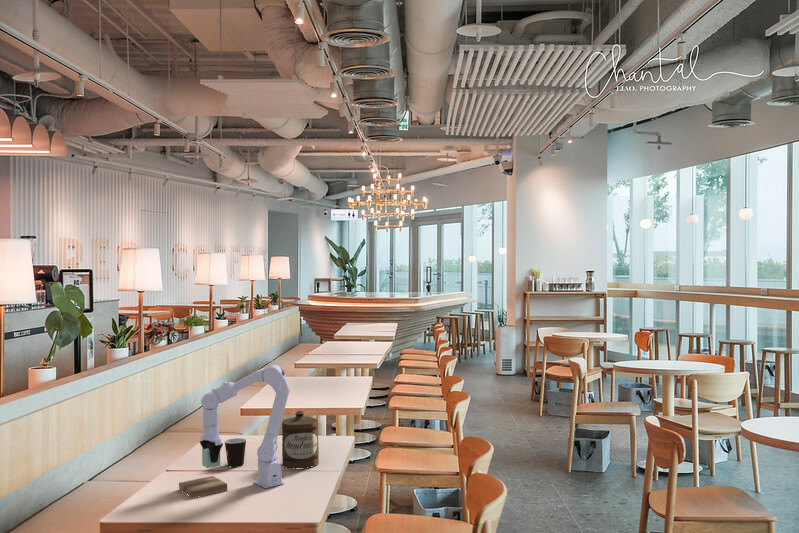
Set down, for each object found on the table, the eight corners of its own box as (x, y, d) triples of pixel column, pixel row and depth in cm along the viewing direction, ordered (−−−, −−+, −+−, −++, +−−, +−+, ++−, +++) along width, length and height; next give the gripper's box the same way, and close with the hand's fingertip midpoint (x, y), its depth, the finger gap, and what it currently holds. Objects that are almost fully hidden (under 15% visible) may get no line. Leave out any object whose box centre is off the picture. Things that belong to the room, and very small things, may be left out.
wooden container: (284, 471, 269) (283, 415, 270) (280, 461, 284) (280, 408, 284) (321, 467, 273) (320, 413, 274) (315, 458, 288) (315, 406, 288)
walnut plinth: (227, 490, 246) (227, 483, 246) (192, 498, 238) (192, 491, 238) (213, 482, 256) (213, 475, 256) (179, 489, 248) (179, 482, 248)
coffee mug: (243, 467, 275) (243, 443, 275) (222, 468, 275) (222, 443, 275) (250, 460, 286) (250, 436, 286) (230, 460, 286) (229, 436, 286)
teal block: (220, 465, 253) (220, 449, 253) (207, 468, 250) (207, 451, 250) (215, 462, 257) (214, 446, 257) (202, 465, 254) (202, 449, 254)
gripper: (193, 422, 257) (193, 458, 257) (207, 429, 245) (208, 467, 245) (211, 420, 261) (211, 455, 261) (226, 426, 249) (226, 463, 249)
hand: (211, 460), depth 253 cm, fingers closed on teal block, 5 cm apart
